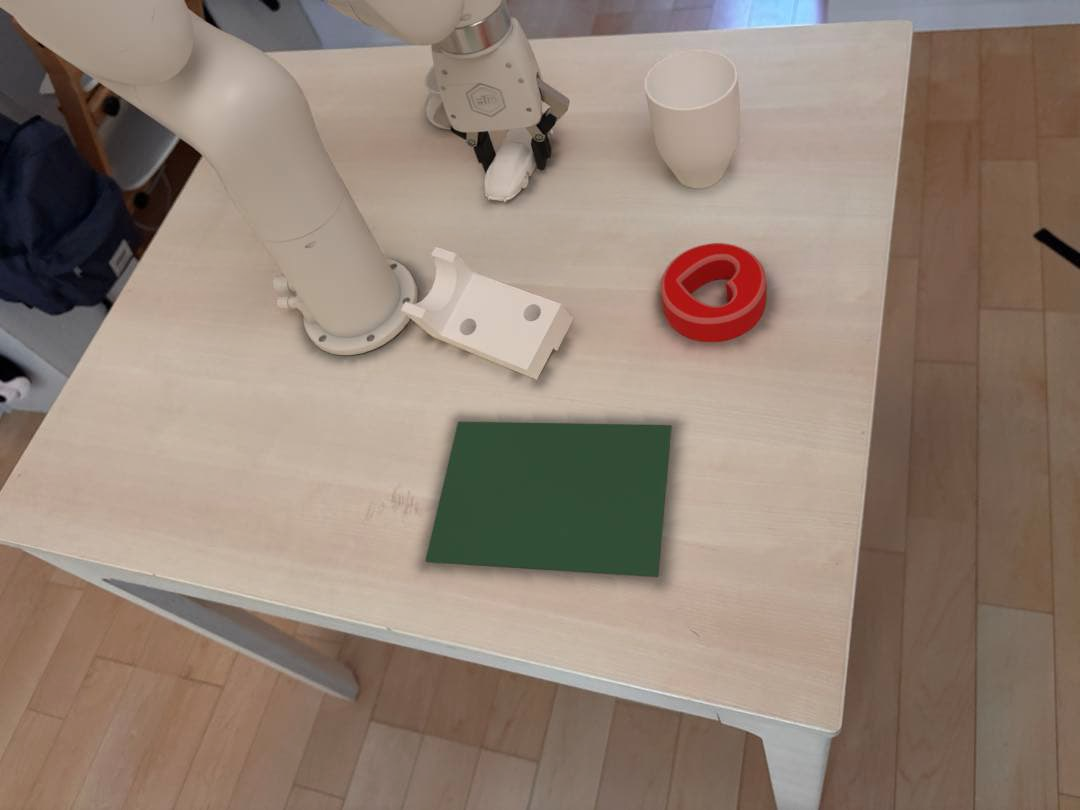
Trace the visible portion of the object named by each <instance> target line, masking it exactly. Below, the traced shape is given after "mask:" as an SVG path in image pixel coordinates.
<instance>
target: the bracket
mask: <svg viewBox="0 0 1080 810" xmlns="http://www.w3.org/2000/svg"><path fill="white" fill-rule="evenodd" d="M432 250H433V251H431V257H432V259H433V261H434V264H435V277H434V281H433V284H432V287H431V288H430V291H429V292H428V294H426V296H425V297H424V298H423V299H422V300H421V301H419V302H417V304H410V303H408V302H405V303H404V305H403V307H402V309H401V311H402V312H403V313H405V314H406V315H407V316H408V317H409V318H411V319H410V320H412V322H414V323H415V324H416V325H418V326H419V327H420V328H421V329H422V330H424V331H425V332H426V333H427V334H428V335H430V336H431V337H432V338H434V339H436V340H438V341H441V342H444V343H446V344H448V345H451V346H453V347H456V348H457V349H460V350H463V351H465V352H468V353H470V354H473V355H476V356H479V357H480V358H482V359H485V360H487V361H490V362H492V363H495V364H497V365H500V366H502V367H505V368H507V369H509V370H511V371H514V372H516V373H519V374H521V375H523V376H526V377H528V378H531V379H534V380H536V381H537V380H539V377H540V375H541V373H542V371H543V369H544V367H545V365H546V363H547V361H548V359H549V358H550V357H551V356H550V355H551V354H552V352H553V351H556V352H558V350H559V348H560V346H561V344H562V342H563V341H564V338H565V336H566V335H567V332H568V331H569V329H570V327H571V325H572V323H573V321H574V318H573V317H572V315H571V314H570V313H569V312H568V311H567V309H566V308H565V307H564V305H563V304H562V303H560V302H557V301H554V300H551V299H548V298H546V297H543V296H540V295H537V294H534V293H532V292H530V291H529V292H528V291H526V290H523V289H520V288H518V287H514V286H512V285H509V284H506V283H504V282H501V281H498V280H495V279H493V278H490V277H487V276H485V275H481V274H479V273H476V272H474V271H473V270H472V269H471V268H470V267H469V266H468V264H467V263H466V262H465V261H464V260H463V259H462V258H461V257H460V256H459V255H458V254H457V253H456V252H452V251H451V250H448V249H444V248H441V247H439V246H435V247H434V249H432Z"/></svg>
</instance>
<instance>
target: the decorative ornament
mask: <svg viewBox="0 0 1080 810" xmlns="http://www.w3.org/2000/svg"><path fill="white" fill-rule="evenodd" d="M766 275H767V274H766V272H765V269H764V266H763V265H762V263H761V261H760V260H759V259H758V258H757V257H756V256H755V255H754V254H753V253H752V252H750V251H749V250H747V249H745V248H742V247H740V246H738V245H735V244H730V243H724V242H712V243H705V244H701V245H697V246H694V247H692V248H689V249H687V250H685V251H683V252H681V253H679V255H677V256H676V257H675V258H674V259H672V261H671V262H670V263H669V265H667V267H666V269H665V270H664V272H663V274H662V276H661V279H660V283H659V285H660V286H659V287H660V295H661V301H662V309H663V314H664V316H665V319H666V321H667V323H668V324H669V326H671V327H672V329H673V330H675V331H676V332H677V333H679V334H680V335H681V336H684V337H685V338H688V339H690V340H692V341H696V342H704V343H717V342H718V343H719V342H724V341H726V342H727V341H730V340H733V339H735V338H738V337H740V336H742V335H744V334H746V333H748V332H750V330H752V329H753V328H754V327H755V326H756V325H757V324H758V323H759V322H760V320H761V318H762V317H763V315H764V312H765V309H766V307H767V306H766V304H767V276H766ZM716 280H728V281H726V282H725V289H726V290H725V292H726V302H727V303H725V304H723V305H709V304H706V303H705V302H702V301H700V300H699V299H697V298H696V297H694V296H693V295H692V294H693V293H694V292H695V291H697V290H699V289H700V288H701V287H703V286H705V285H706V284H708V283H710V282H713V281H716Z"/></svg>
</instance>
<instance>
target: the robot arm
mask: <svg viewBox="0 0 1080 810" xmlns="http://www.w3.org/2000/svg"><path fill="white" fill-rule="evenodd" d="M325 1H326V2H327V3H328V5H330V6H331V7H332V8H333V9H334V10H336V11H337V12H339V13H341V14H342V15H344V16H346V17H348V18H351V19H353V20H355V21H357V22H360V23H362V24H363V25H366V26H368V27H371V28H374V29H376V30H379V31H381V32H383V33H385V34H387V35H390V36H391V37H393V38H396V39H398V40H400V41H402V42H404V43H407V44H410V45H413V46H422V47H425V46H430V48H431V56H432V63H433V64H432V65H434V69H435V73H436V78H437V82H438V86H439V91H440V94H441V98H442V100H441V101H440V103H439V105H438V107H437V108H436V110H435V113H434V117H433V120H434V121H435V122H436V123H438V124H440V125H442V126H444V127H446V128H450V129H449V130H450V131H451V133H453V134H455V136H458V137H460V138H461V139H462V140H465V142H466V145H467V146H468V147H471V148H472V149H473V152H474V154H475V157H476V160H477V162H478V164H481V166H482V169H483V171H484V173H485V175H486V172H487V170H488V168H489V166H490V165H491V163H492V162H493V160H494V158H495V156H496V154H497V152H496V150H495V146H494V143H493V141H492V138H491V135H490V133H489V132H496V131H507V130H508V131H509V130H510V129H520V128H526V129H527V131H528V132H529V133H530V134H531V136H532V140H531V148H532V151H533V154H534V158H535V161H536V164H537V165H536V167H537V170H539V171H545V170H546V167H547V162H548V160H549V159H551V158H552V154H553V153H552V144H551V141H550V137H549V138H548V134H547V133H548V132H549V131H550V130H551V129H552V130H553V127H555V125H556V124H557V121H559V120H560V119H561V118H562V117H563V116H564V115H565V114H566V113H567V112H568V110H569V107H570V98H568V97H567V96H565V95H564V94H563V93H561V92H560V91H558V90H557V89H555V88H554V87H553V86H551V85H550V84H548V83H547V82H545V81H544V79H543V76H542V73H541V70H540V68H539V64H538V62H537V58H536V56H535V53H534V51H533V49H532V46H531V43H530V41H529V40H528V37H527V36H526V34H525V32H524V30H523V28H522V26H521V24H520V23H519V21H518V19H517V18H516V17H511V14H510V11H509V7H508V4H507V0H325ZM0 8H1V10H4V11H5V12H6V13H8V14H9V15H11V16H12V17H13V18H14V19H15V21H16V22H17V23H18V25H19V26H20V27H21V28H22V29H23V30H24V31H25V32H26V33H27V34H28V35H29V36H30V37H32V38H33V39H34V40H35V41H37V42H38V43H40V45H43V46H44V47H45V48H48V49H49V50H50V51H51V52H53V53H54V54H56V55H57V56H59V57H60V58H62V59H63V60H65V61H66V62H68V63H70V65H72V66H74V67H75V68H77V69H78V70H80V71H81V72H83V73H84V74H85V75H87V76H89V77H90V78H92V79H93V80H95V81H96V82H97V83H99V84H101V85H102V86H104V87H105V88H107V90H110V91H111V92H113V93H114V94H116V95H117V96H119V97H120V98H122V99H123V100H125V101H126V102H127V103H129V104H131V105H132V106H134V107H135V108H137V109H138V110H140V111H141V112H142V113H144V114H145V115H147V116H148V117H150V118H151V119H153V120H154V121H156V122H157V123H159V124H160V125H162V126H163V127H164V128H166V129H168V131H170V132H171V133H173V134H175V135H176V136H177V138H179V139H181V140H182V141H183V142H184V143H186V144H188V145H189V146H190V147H191V148H193V149H194V150H195V151H196V152H198V153H199V154H200V155H201V156H202V157H203V158H204V160H205V161H206V162H207V163H208V164H209V165H210V166H211V168H212V169H213V170H214V172H215V173H216V174H217V176H218V178H219V180H220V181H221V183H222V185H223V188H224V190H225V193H226V194H227V195H228V197H229V199H230V201H231V203H232V205H233V206H234V207H235V209H236V210H237V212H238V213H239V215H240V217H241V218H242V219H243V221H244V222H245V224H246V225H247V227H248V228H249V229H250V231H251V232H252V233H253V234H254V235H255V237H256V238H257V239H258V241H259V242H260V243H261V245H262V246H263V248H264V249H265V251H266V252H267V254H268V255H269V256H270V258H271V259H272V260H273V262H274V263H275V265H276V266H277V268H278V269H279V270H280V272H281V273H282V275H276V276H274V278H273V281H272V286H273V291H274V292H275V293H276V294H294V293H296V296H292V295H280V296H278V297H277V299H276V306H277V308H278V309H279V310H292V309H297V310H298V311H300V313H301V314H302V315H303V326H304V330H305V332H306V333H307V336H308V337H309V338H310V340H311V341H312V342H313V343H314V345H316V347H318V348H320V349H321V350H322V351H325V352H326V353H328V354H329V353H330V354H333V355H338V356H354V355H360V354H364V353H368V352H371V351H374V350H375V349H378V348H379V347H380V348H381V346H384V345H386V344H387V343H388V342H390V341H391V340H393V339H394V338H395V337H396V336H397V335H399V334H400V332H402V331H403V330H404V328H405V327H406V326H407V325H408V324H409V322H410V320H412V319H411V318H409V317H408V316H407V315H406V314H405V313H403V312H402V311H401V309H402V307H403V305H404V303H405V302H408V303H410V304H417V303H418V297H419V292H418V286H417V283H416V281H415V278H414V277H413V275H412V274H411V272H410V270H409V269H408V268H407V267H406V266H404V265H403V264H402V263H401V262H398V261H396V260H393V259H390V258H386V256H385V254H384V253H383V251H382V248H381V247H380V245H379V243H378V242H377V240H376V237H375V236H374V235H373V232H372V230H371V229H370V227H369V226H368V225H369V224H367V222H366V220H365V218H364V216H363V215H362V213H361V211H360V209H359V207H358V205H357V204H356V202H355V200H354V198H353V197H352V195H351V193H350V191H349V189H348V187H347V186H346V183H345V182H344V180H343V179H342V177H341V175H340V174H339V171H338V169H337V168H336V167H335V165H334V162H333V161H332V158H331V156H330V155H329V153H328V151H327V149H326V147H325V145H324V143H323V141H322V140H323V139H322V138H321V136H320V133H319V130H318V128H317V125H316V122H315V119H314V116H313V113H312V109H311V107H310V104H309V101H308V99H307V97H306V94H305V93H304V91H303V89H302V87H301V86H300V84H299V83H298V81H297V80H296V78H294V76H293V75H292V74H291V73H290V72H289V71H288V70H287V69H286V67H284V66H283V65H282V64H280V62H278V61H277V60H276V59H275V58H273V57H272V56H270V55H269V54H267V53H266V52H264V51H262V50H261V49H259V48H257V47H255V46H254V45H252V44H250V43H249V42H247V41H244V40H243V39H240V38H239V37H236V36H235V35H233V34H230V33H228V32H225V31H223V30H221V29H219V28H218V27H216V26H214V25H213V24H211V23H209V22H207V21H206V20H205V19H204V18H201V17H200V16H199V15H197V14H196V13H194V11H192V10H190V8H188V5H187V4H186V1H185V0H0ZM542 102H543V103H545V104H546V105H548V106H549V107H548V108H547V109H546V110H545V111H544V112H543V103H542Z"/></svg>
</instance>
